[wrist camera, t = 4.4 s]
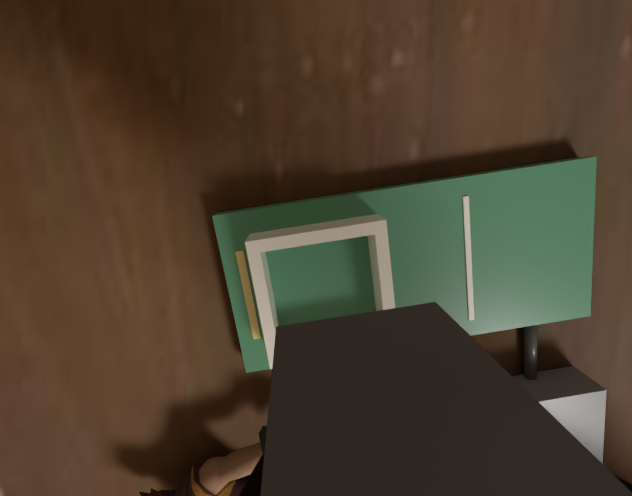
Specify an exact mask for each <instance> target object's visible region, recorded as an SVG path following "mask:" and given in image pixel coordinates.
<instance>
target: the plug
mask: <svg viewBox="0 0 632 496" xmlns="http://www.w3.org/2000/svg"><path fill="white" fill-rule="evenodd" d="M261 496H632V492H631V491H630V490H629V489H628V488H627V487H626V486H625V485H624V484H623V483H622V482H620V481H619V480H618V479H617V478H616V477H615V476H614V475H613V474H612V473H611V472H610V471H609V470H608V469H607V468H606V467H605V466H604V465H603V464H602V463H601V462H600V461H599V460H598V459H597V458H596V457H595V456H594V455H593V454H592V453H591V452H590V451H589V450H588V449H587V448H585V447H584V446H583V445H582V444H581V443H580V442H579V441H578V440H577V439H576V438H575V437H574V436H573V435H572V434H571V433H570V432H569V431H568V430H567V429H566V428H565V427H564V426H563V425H562V424H561V423H560V422H559V421H558V420H557V419H556V418H555V417H554V416H553V415H552V414H550V413H549V412H548V411H547V410H546V409H545V408H544V407H543V406H542V405H541V404H540V403H539V402H538V401H537V400H536V399H535V398H534V397H533V396H532V395H531V394H530V393H529V392H528V391H527V390H526V389H525V388H524V387H523V386H522V385H521V384H520V383H519V382H518V381H516V380H515V379H514V378H513V377H512V376H511V375H510V374H509V373H508V372H507V371H506V370H505V369H504V368H503V367H502V366H501V365H500V364H499V363H498V362H497V361H496V360H495V359H494V358H493V357H492V356H491V355H490V354H489V353H488V352H487V351H486V350H485V349H484V348H483V347H481V346H480V345H479V344H478V343H477V342H476V341H475V340H474V339H473V338H472V337H471V336H470V335H469V334H468V333H467V332H466V331H465V330H464V329H463V328H462V327H461V326H460V325H459V324H458V323H457V322H456V321H455V320H454V319H453V318H452V317H451V316H450V315H449V314H448V313H446V312H445V311H444V310H443V309H442V308H441V307H440V306H439V305H438V304H437V303H436V302H431V303H425V304H419V305H412V306H406V307H399V308H393V309H386V310H380V311H374V312H367V313H361V314H354V315H348V316H341V317H335V318H329V319H322V320H316V321H309V322H303V323H296V324H290V325H284V326H277V327H276V334H275V345H274V356H273V367H272V377H271V388H270V399H269V410H268V420H267V431H266V442H265V453H264V463H263V474H262V485H261Z"/></svg>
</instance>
